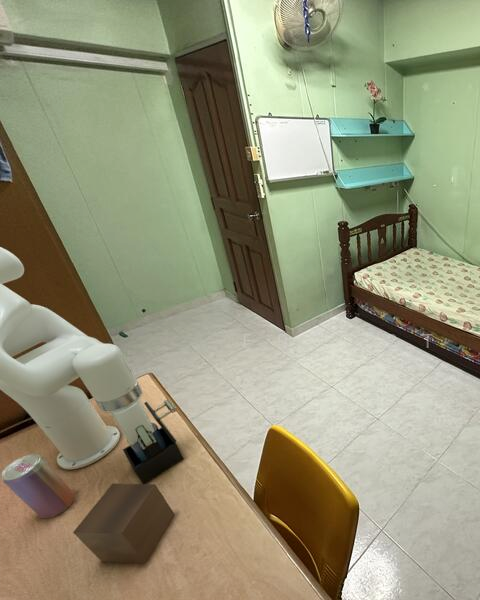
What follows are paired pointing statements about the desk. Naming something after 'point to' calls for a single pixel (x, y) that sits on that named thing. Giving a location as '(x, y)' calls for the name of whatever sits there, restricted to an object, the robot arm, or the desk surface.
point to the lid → (163, 415)
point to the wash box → (155, 460)
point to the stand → (126, 523)
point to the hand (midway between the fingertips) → (149, 445)
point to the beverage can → (38, 485)
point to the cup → (156, 435)
